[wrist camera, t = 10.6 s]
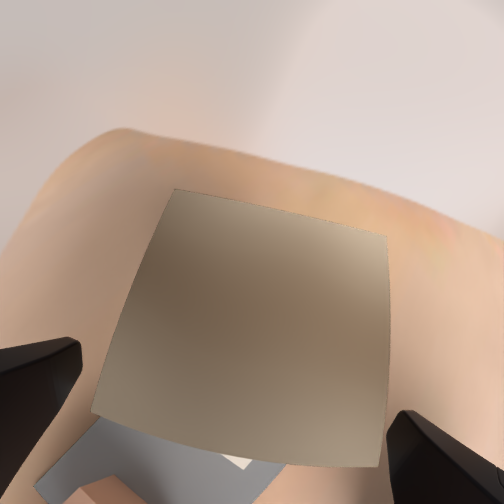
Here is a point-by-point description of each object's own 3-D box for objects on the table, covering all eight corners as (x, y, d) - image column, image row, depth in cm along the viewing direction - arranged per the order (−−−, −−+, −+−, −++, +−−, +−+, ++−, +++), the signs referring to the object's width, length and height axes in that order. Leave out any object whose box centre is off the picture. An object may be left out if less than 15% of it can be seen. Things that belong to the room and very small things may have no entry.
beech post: (267, 439, 15) (378, 467, 4) (181, 421, 15) (89, 411, 4) (282, 360, 18) (386, 235, 7) (201, 343, 18) (174, 188, 7)
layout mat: (345, 378, 18) (348, 377, 17) (152, 586, 8) (151, 589, 8) (224, 289, 20) (224, 286, 20) (36, 485, 11) (32, 486, 10)
